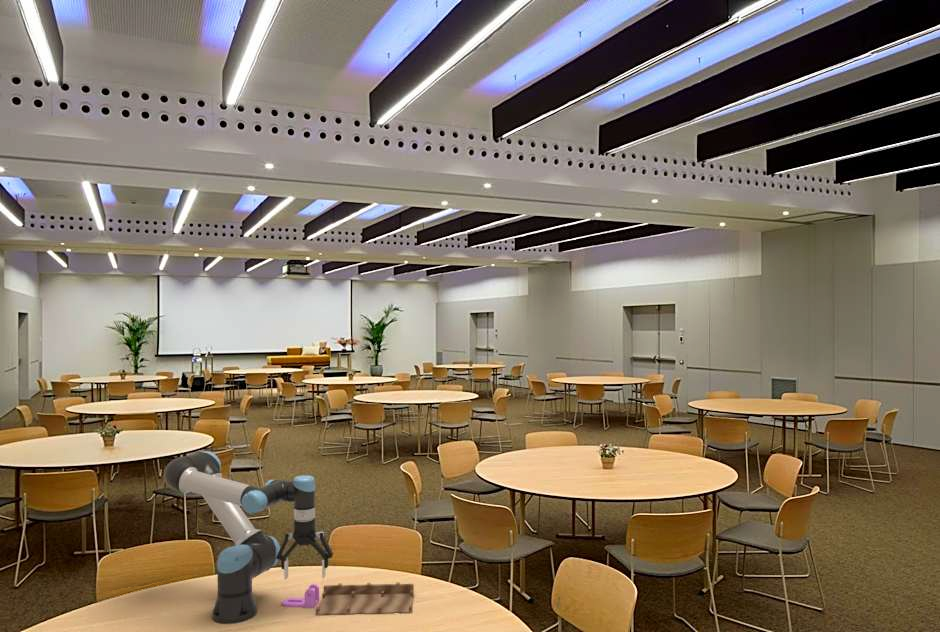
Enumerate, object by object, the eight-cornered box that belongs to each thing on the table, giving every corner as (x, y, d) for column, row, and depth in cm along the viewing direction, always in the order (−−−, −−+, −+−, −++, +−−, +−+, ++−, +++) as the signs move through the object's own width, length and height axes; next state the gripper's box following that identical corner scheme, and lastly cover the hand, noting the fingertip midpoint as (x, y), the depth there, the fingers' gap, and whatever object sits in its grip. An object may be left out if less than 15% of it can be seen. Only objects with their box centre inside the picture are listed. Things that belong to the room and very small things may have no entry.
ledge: (315, 617, 233) (315, 603, 233) (324, 596, 250) (324, 583, 250) (411, 615, 234) (411, 601, 234) (413, 595, 251) (413, 582, 251)
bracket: (319, 602, 245) (319, 583, 245) (314, 608, 240) (314, 589, 240) (285, 601, 246) (285, 582, 246) (279, 607, 241) (279, 588, 241)
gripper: (267, 523, 236) (267, 582, 236) (337, 521, 237) (337, 580, 237) (272, 516, 243) (273, 574, 243) (340, 515, 244) (341, 572, 244)
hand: (305, 577), depth 240 cm, fingers open, 13 cm apart
